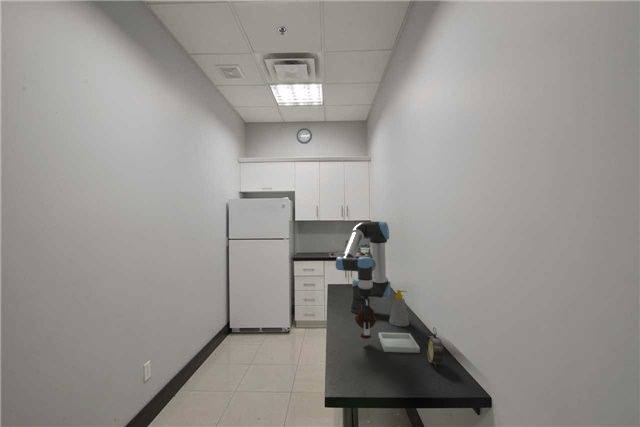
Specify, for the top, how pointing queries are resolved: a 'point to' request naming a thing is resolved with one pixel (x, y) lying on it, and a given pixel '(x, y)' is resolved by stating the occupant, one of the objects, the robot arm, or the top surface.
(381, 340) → the tray
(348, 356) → the top surface
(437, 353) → the alarm clock
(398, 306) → the soap bottle
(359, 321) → the ice cream bowl
